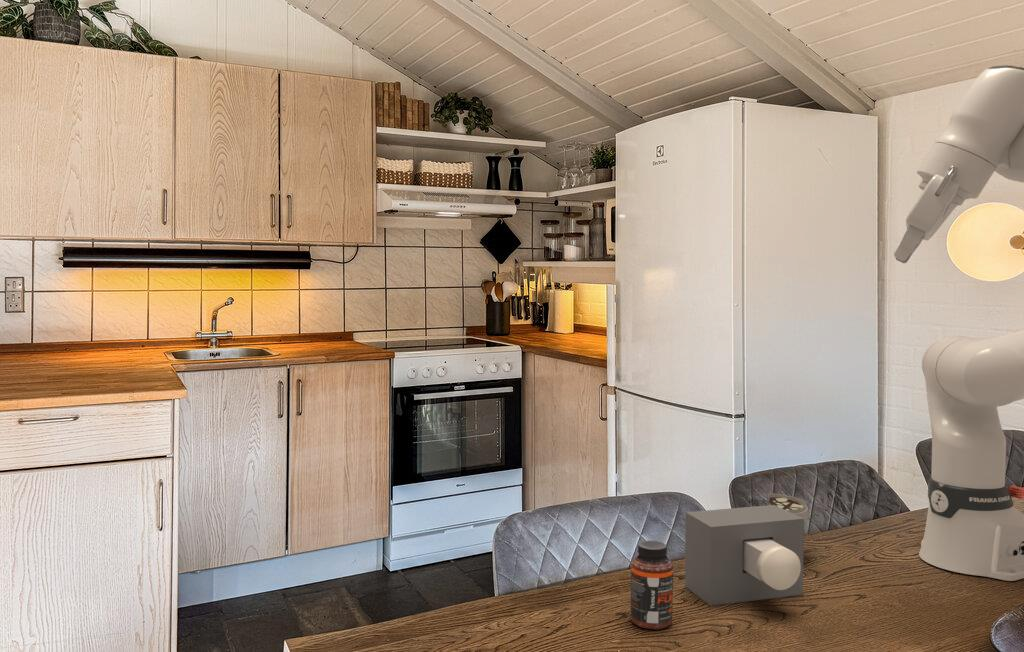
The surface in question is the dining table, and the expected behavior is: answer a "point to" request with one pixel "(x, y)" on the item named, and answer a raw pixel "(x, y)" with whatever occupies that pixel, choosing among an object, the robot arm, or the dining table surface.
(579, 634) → the dining table surface
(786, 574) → the push knob
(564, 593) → the dining table surface
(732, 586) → the knob mount
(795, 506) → the food container
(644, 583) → the supplement bottle
